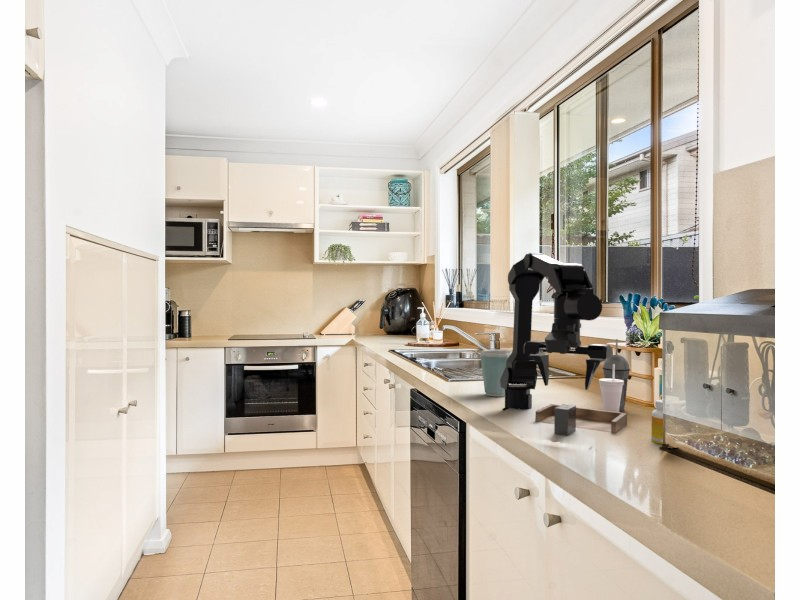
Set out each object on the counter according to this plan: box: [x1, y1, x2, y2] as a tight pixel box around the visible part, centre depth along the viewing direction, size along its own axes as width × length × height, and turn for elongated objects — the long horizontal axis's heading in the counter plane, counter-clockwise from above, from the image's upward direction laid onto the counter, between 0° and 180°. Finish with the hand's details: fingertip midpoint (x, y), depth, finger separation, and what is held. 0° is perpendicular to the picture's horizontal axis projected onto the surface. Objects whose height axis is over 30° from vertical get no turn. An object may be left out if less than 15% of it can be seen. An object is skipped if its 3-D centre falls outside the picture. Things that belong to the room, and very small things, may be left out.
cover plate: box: [553, 403, 577, 437], centre depth 126 cm, size 12×9×7 cm
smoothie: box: [598, 364, 624, 412], centre depth 149 cm, size 6×6×14 cm
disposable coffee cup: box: [479, 348, 513, 398], centre depth 178 cm, size 11×11×15 cm
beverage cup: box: [602, 339, 631, 412], centre depth 158 cm, size 7×7×20 cm
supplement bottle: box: [650, 399, 663, 445], centre depth 119 cm, size 5×5×10 cm
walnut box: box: [534, 403, 628, 434], centre depth 136 cm, size 19×12×4 cm, turn 56°
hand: (566, 387), depth 125 cm, fingers open, 9 cm apart
